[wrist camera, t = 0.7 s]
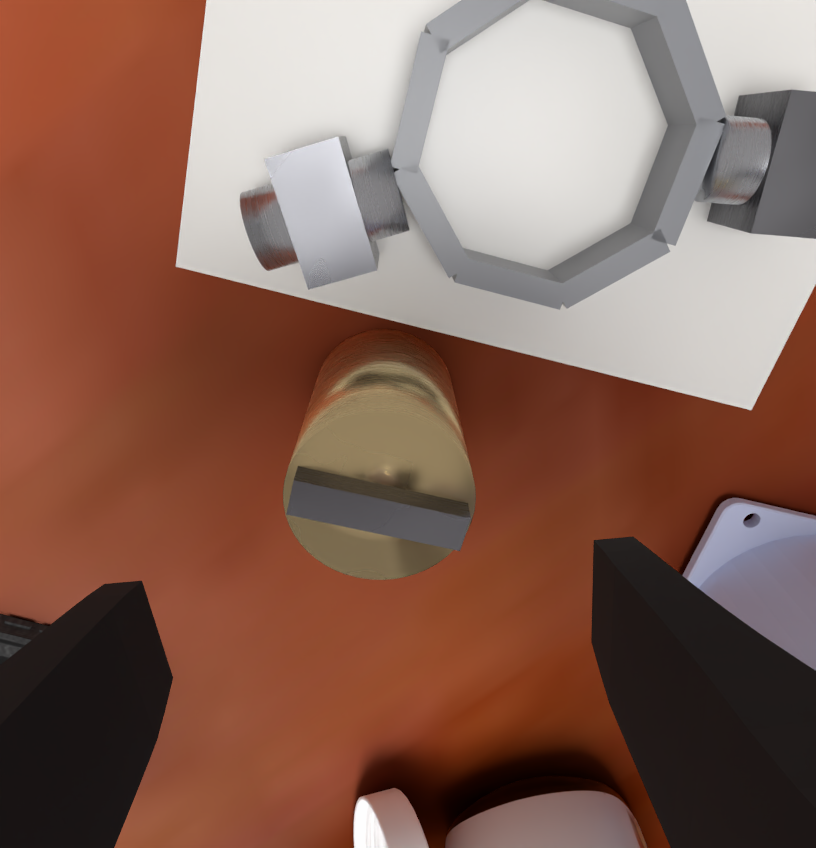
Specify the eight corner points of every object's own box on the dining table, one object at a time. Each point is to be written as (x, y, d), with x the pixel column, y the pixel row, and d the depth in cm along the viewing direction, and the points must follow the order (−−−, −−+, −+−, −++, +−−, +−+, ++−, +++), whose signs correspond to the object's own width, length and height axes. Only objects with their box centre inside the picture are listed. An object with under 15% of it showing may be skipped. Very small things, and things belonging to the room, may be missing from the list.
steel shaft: (671, 218, 16) (710, 230, 14) (701, 91, 15) (747, 85, 13) (804, 229, 16) (861, 242, 14) (843, 104, 15) (911, 100, 13)
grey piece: (382, 125, 15) (380, 123, 13) (414, 243, 16) (416, 259, 14) (245, 166, 16) (223, 171, 14) (285, 280, 17) (270, 300, 15)
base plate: (924, 13, 15) (1021, -10, 13) (734, 396, 19) (782, 434, 17) (245, -218, 13) (213, -293, 11) (187, 259, 17) (154, 279, 15)
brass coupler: (469, 348, 19) (505, 451, 12) (432, 469, 20) (447, 612, 14) (331, 313, 18) (298, 403, 12) (303, 440, 20) (262, 577, 14)
